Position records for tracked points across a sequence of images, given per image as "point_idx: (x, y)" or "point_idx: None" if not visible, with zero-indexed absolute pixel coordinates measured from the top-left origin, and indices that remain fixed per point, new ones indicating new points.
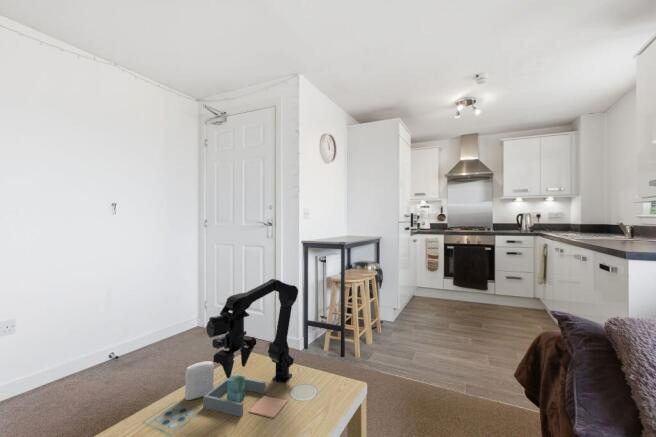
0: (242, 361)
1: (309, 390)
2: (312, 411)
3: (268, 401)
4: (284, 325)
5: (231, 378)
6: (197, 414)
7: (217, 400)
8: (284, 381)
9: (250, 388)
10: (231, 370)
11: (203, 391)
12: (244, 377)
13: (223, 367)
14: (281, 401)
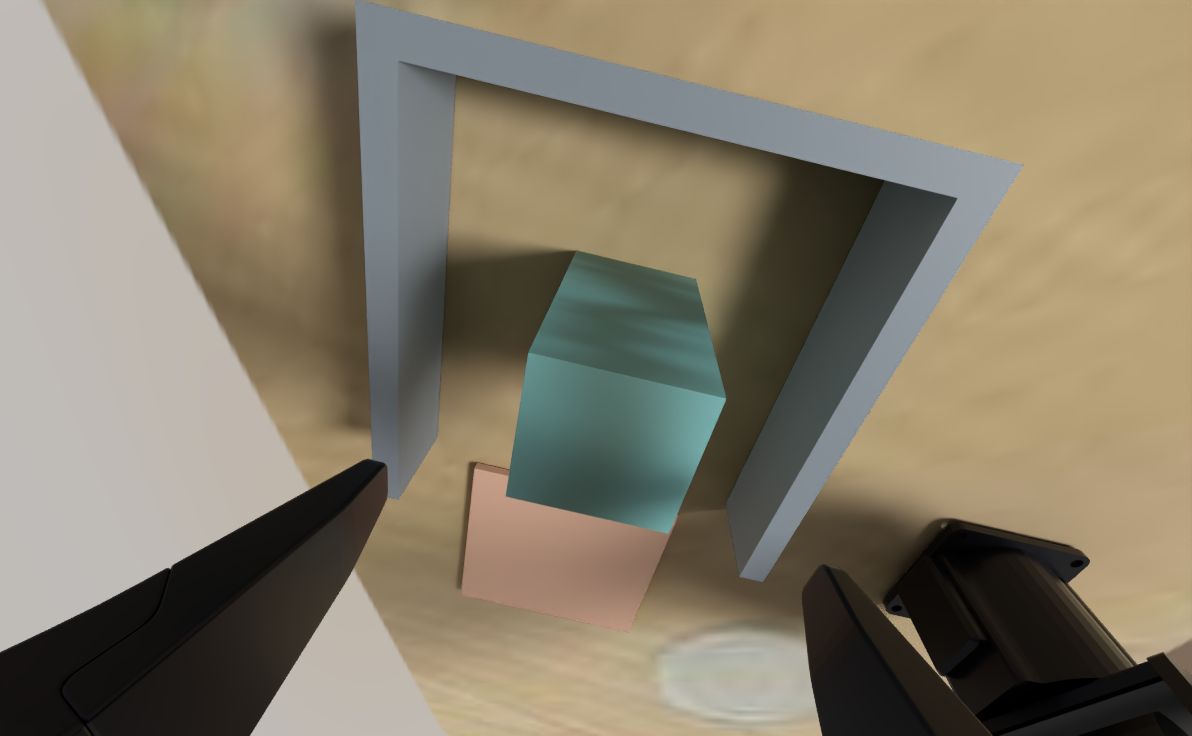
0: (853, 664)
1: (758, 699)
2: (560, 705)
3: (607, 551)
4: None
5: (586, 399)
6: (308, 27)
7: (370, 255)
8: (888, 602)
9: (782, 409)
10: (266, 673)
11: None
12: (667, 520)
13: (65, 643)
14: (617, 609)
